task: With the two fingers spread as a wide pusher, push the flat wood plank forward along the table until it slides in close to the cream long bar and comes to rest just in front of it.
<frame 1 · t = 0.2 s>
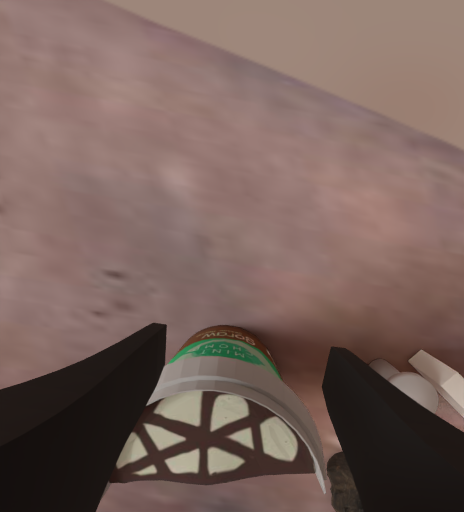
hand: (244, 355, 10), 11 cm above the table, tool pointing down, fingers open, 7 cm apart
food container: (221, 344, 22), on the table
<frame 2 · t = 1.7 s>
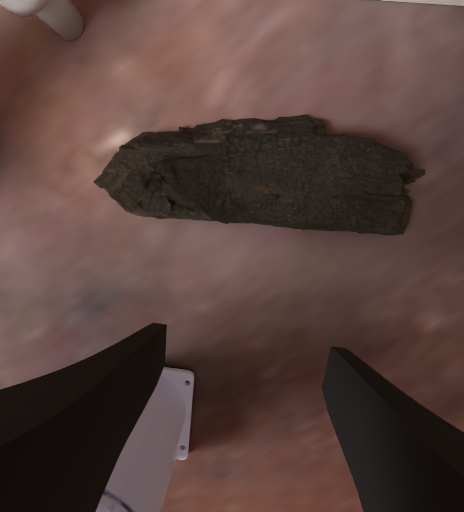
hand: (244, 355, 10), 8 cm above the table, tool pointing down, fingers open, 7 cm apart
wood: (256, 176, 17), on the table
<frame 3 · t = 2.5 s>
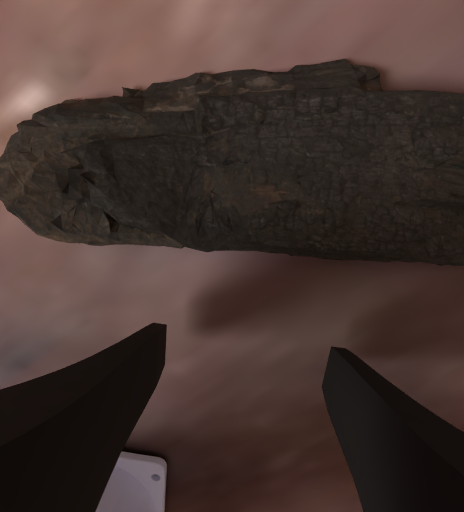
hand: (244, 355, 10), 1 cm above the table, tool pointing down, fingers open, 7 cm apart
wood: (257, 171, 11), on the table
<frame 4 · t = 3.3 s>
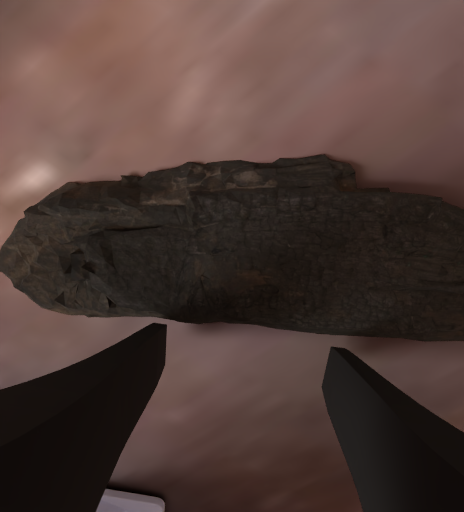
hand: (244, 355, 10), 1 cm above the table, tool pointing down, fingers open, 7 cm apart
wood: (246, 243, 11), on the table, touching gripper
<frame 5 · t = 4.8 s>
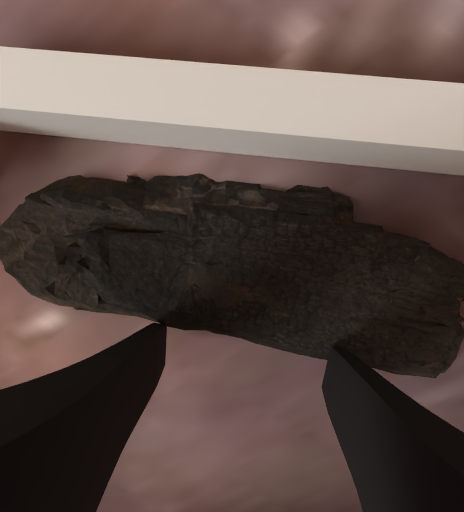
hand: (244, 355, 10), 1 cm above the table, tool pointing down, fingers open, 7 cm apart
wood: (240, 257, 12), on the table
cream long bar: (271, 136, 10), on the table
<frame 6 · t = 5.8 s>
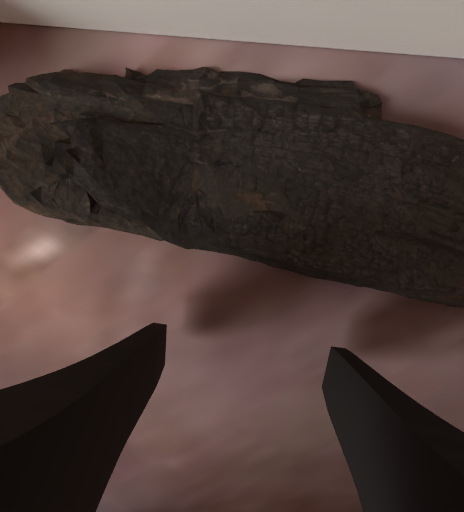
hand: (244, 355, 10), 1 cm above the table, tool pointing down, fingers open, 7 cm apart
wood: (250, 176, 11), on the table
cream long bar: (290, 20, 9), on the table
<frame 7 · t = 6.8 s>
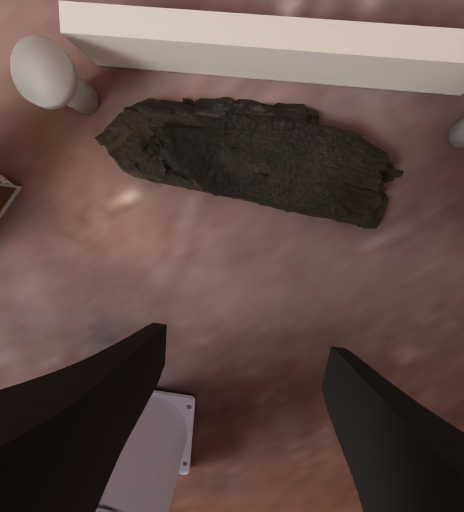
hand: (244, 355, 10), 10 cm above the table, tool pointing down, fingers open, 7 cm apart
wood: (250, 157, 18), on the table
cream long bar: (273, 67, 16), on the table
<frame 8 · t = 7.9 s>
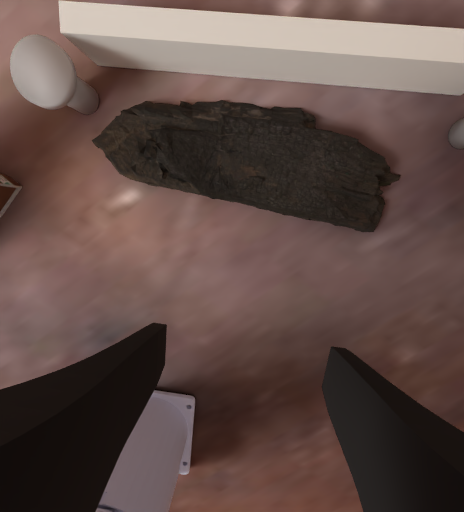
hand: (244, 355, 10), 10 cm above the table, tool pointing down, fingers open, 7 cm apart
wood: (247, 160, 18), on the table
cream long bar: (273, 67, 16), on the table
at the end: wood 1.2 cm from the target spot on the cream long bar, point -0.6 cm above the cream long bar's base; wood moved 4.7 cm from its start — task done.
